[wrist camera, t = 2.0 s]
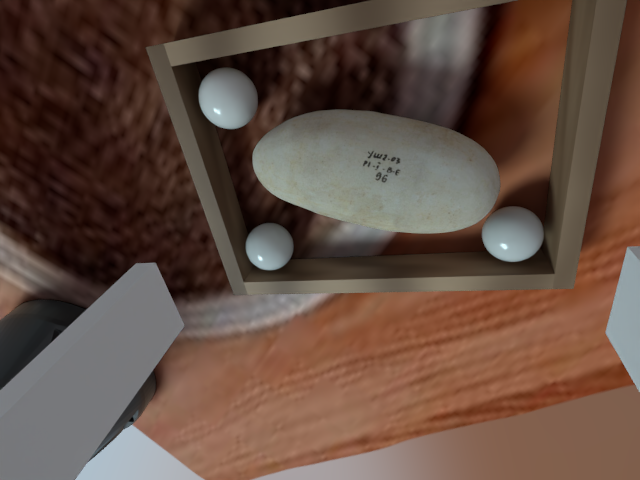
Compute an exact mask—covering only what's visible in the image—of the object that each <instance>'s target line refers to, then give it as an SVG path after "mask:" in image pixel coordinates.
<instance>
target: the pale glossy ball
mask: <svg viewBox="0 0 640 480" xmlns="http://www.w3.org/2000/svg"><path fill="white" fill-rule="evenodd" d="M293 249H294V244H293V239H292V237H291V235H290V233H289V232H288V231H287V230H286V229H285V228H284V227H282V226H281V225H278V224H275V223H264V224H261V225H259V226H257V227H256V228H254V229H253V230H252V231H251V232H250V234H249V236H248V238H247V241H246V253H247V256H248V258H249V260H250V261H251V262H252V263H253V264H254V265H255V266H257V267H258V268H260V269H263V270H276V269H279V268H281V267H283V266H284V265H285V264H286V263H287V262H288V261H289V260H290V258H291V256H292V254H293Z"/></svg>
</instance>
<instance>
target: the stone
mask: <svg viewBox="0 0 640 480" xmlns="http://www.w3.org/2000/svg"><path fill="white" fill-rule="evenodd" d="M253 168H254V171H255V173H256V175H257V177H258V179H259V180H260V182H261V183H262V184H263V186H264V187H265V188H266V189H267V190H268V191H270V192H271V193H272V194H274V195H275V196H277V197H278V198H280V199H282V200H284V201H287V202H289V203H292V204H294V205H297V206H300V207H302V208H305V209H308V210H310V211H313V212H315V213H318V214H321V215H324V216H328V217H331V218H335V219H338V220H342V221H346V222H350V223H354V224H358V225H362V226H366V227H370V228H375V229H381V230H387V231H394V232H405V233H444V232H452V231H456V230H460V229H463V228H466V227H469V226H471V225H473V224H476V223H477V222H479V221H480V220H481V219H483V218H484V217H485V216H486V215H487V214H488V213H489V212H490V210H491V209H492V208H493V206H494V204H495V202H496V199H497V197H498V194H499V191H500V176H499V172H498V168H497V165H496V163H495V162H494V160H493V158H492V157H491V156H490V155H489V154H488V152H487V151H486V150H485V149H484V148H483V147H482V146H480V145H479V144H478V143H476V142H475V141H473V140H472V139H470V138H468V137H466V136H464V135H462V134H460V133H458V132H456V131H454V130H451V129H449V128H446V127H442V126H439V125H436V124H432V123H428V122H423V121H419V120H415V119H410V118H405V117H400V116H394V115H388V114H383V113H378V112H373V111H361V110H346V109H336V110H322V111H314V112H310V113H306V114H303V115H300V116H297V117H294V118H291V119H289V120H287V121H285V122H284V123H282V124H280V125H279V126H277V127H275V128H274V129H272V130H271V131H269V132H268V133H267V134H266V135H265V136H264V137H263V138H262V139H261V140H260V141H259V142H258V144H257V145H256V147H255V149H254V151H253Z"/></svg>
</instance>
